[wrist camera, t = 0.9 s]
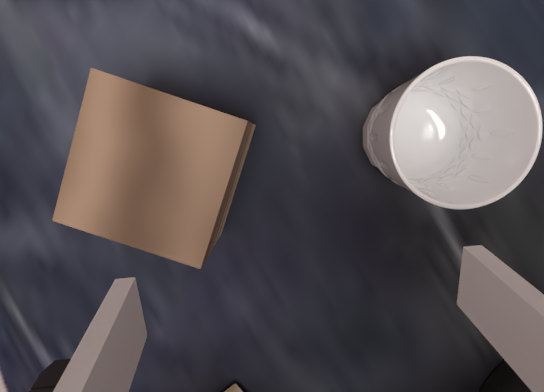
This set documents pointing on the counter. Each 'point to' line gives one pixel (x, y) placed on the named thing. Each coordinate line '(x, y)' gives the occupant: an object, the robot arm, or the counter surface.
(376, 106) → the white cup
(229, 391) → the coffeecake box
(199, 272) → the counter surface
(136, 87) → the tower top
